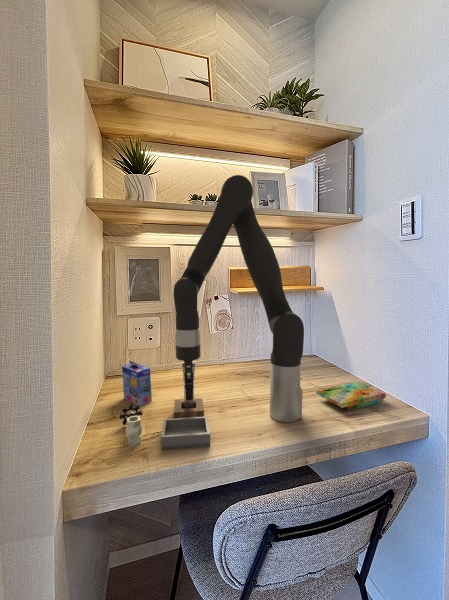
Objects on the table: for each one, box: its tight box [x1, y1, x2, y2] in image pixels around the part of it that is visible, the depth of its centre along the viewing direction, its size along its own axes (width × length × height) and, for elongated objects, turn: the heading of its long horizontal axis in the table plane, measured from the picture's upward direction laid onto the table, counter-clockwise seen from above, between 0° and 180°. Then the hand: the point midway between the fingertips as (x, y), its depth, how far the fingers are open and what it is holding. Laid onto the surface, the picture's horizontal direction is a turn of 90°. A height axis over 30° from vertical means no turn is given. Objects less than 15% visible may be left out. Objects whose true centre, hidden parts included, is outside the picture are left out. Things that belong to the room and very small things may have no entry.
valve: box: [118, 403, 144, 446], centre depth 86 cm, size 7×7×12 cm
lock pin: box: [183, 380, 196, 409], centre depth 96 cm, size 3×3×10 cm
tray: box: [160, 415, 211, 451], centre depth 84 cm, size 13×10×4 cm
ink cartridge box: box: [121, 360, 153, 407], centre depth 108 cm, size 10×6×14 cm, turn 51°
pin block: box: [173, 397, 205, 419], centre depth 96 cm, size 9×9×4 cm
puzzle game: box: [315, 381, 387, 411], centre depth 107 cm, size 12×5×20 cm
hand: (189, 396), depth 96 cm, fingers closed on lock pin, 3 cm apart
